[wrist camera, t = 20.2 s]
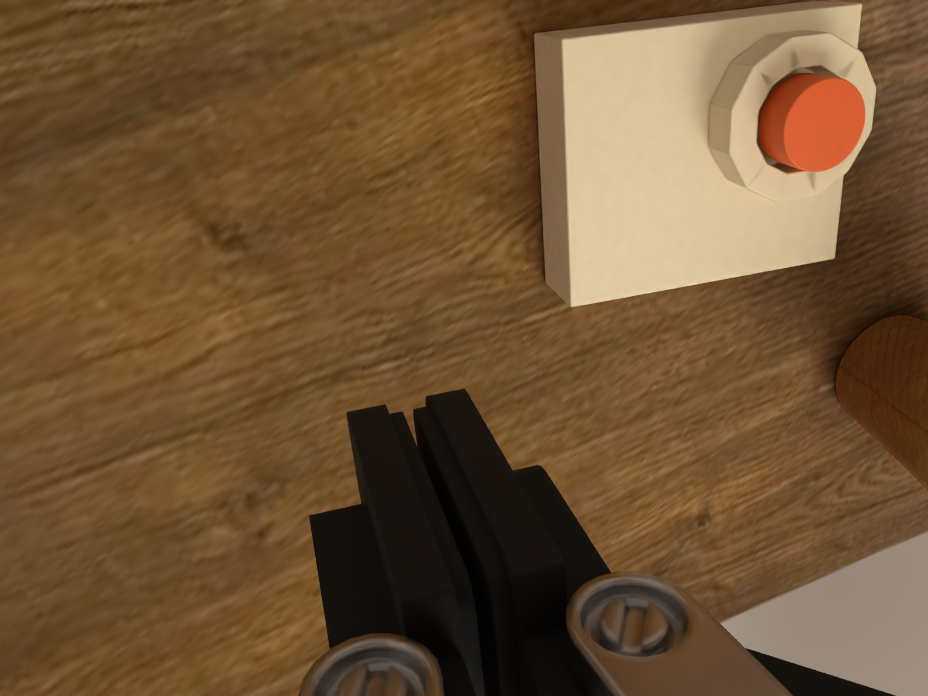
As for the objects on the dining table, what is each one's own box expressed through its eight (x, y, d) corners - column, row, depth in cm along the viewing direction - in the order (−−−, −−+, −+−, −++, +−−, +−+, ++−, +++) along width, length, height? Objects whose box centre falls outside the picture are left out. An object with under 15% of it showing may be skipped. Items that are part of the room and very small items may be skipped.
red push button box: (533, 33, 35) (578, 41, 30) (812, 0, 37) (892, 4, 33) (545, 283, 39) (585, 322, 35) (792, 239, 42) (859, 270, 37)
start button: (761, 78, 33) (787, 83, 31) (841, 67, 34) (871, 72, 32) (755, 169, 34) (780, 178, 33) (832, 157, 35) (860, 165, 34)
